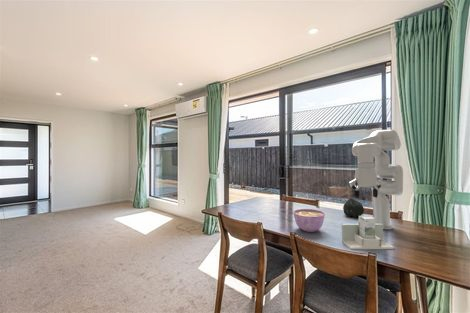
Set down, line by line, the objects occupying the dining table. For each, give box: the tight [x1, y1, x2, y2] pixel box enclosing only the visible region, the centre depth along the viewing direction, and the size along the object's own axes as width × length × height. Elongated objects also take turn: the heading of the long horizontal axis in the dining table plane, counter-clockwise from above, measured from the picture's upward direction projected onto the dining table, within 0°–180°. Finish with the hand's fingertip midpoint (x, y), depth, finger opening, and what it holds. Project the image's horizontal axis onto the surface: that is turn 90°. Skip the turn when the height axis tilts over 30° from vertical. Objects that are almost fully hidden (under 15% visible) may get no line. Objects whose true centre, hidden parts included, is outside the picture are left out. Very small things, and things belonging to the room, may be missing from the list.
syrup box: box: [358, 215, 375, 239], centre depth 122 cm, size 6×6×14 cm
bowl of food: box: [292, 208, 326, 233], centre depth 148 cm, size 20×20×12 cm
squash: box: [342, 197, 365, 218], centre depth 177 cm, size 14×15×15 cm
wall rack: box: [341, 223, 395, 250], centre depth 122 cm, size 11×22×10 cm, turn 88°
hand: (365, 197), depth 122 cm, fingers open, 9 cm apart
